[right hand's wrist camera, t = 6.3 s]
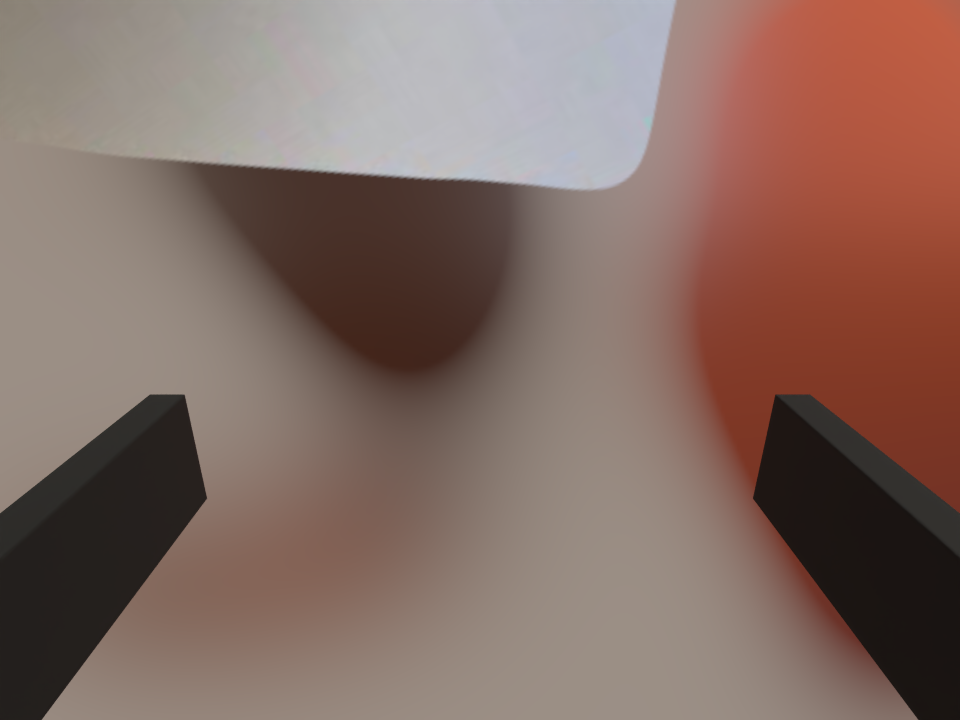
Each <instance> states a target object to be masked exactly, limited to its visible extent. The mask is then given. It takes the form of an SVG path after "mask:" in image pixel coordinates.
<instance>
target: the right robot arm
mask: <svg viewBox="0 0 960 720" xmlns="http://www.w3.org/2000/svg"><path fill="white" fill-rule="evenodd" d="M206 499H207V496H206V492H205V487H204V482H203V478H202V473H201V469H200V464H199V460H198V455H197V450H196V445H195V441H194V436H193V431H192V427H191V422H190V418H189V413H188V408H187V404H186V399H185V395H149V396H148V397H146V398H145V399H144V400H143V401H141V402H140V403H139V404H138V405H136V406H135V407H134V408H133V409H131V410H130V411H129V412H128V413H126V414H125V415H124V416H123V417H121V418H120V419H119V420H117V421H116V422H115V423H114V424H112V425H111V426H110V427H109V428H107V429H106V430H105V431H104V432H102V433H101V434H100V435H99V436H97V437H96V438H95V439H93V440H92V441H91V442H90V443H88V444H87V445H86V446H85V447H83V448H82V449H81V450H80V451H78V452H77V453H76V454H75V455H73V456H72V457H71V458H70V459H68V460H67V461H66V462H64V463H63V464H62V465H61V466H59V467H58V468H57V469H56V470H54V471H53V472H52V473H51V474H49V475H48V476H47V477H46V478H44V479H43V480H42V481H41V482H39V483H38V484H37V485H35V486H34V487H33V488H32V489H31V490H29V491H28V492H27V493H25V494H24V495H23V496H22V497H20V498H19V499H18V500H17V501H15V502H14V503H13V504H12V505H10V506H9V507H8V508H6V509H5V510H4V511H3V512H1V513H0V720H42V719H43V717H44V716H45V714H46V713H47V712H48V711H49V709H50V708H51V706H52V705H53V704H54V702H55V701H56V700H57V698H58V697H59V696H60V694H61V693H62V692H63V690H64V689H65V688H66V686H67V685H68V684H69V682H70V681H71V680H72V678H73V677H74V676H75V674H76V673H77V672H78V670H79V669H80V668H81V666H82V665H83V664H84V662H85V661H86V660H87V658H88V657H89V656H90V654H91V653H92V652H93V650H94V649H95V648H96V646H97V645H98V644H99V642H100V641H101V640H102V638H103V637H104V636H105V634H106V633H107V632H108V630H109V629H110V628H111V626H112V625H113V623H114V622H115V621H116V619H117V618H118V617H119V615H120V614H121V613H122V611H123V610H124V609H125V607H126V606H127V605H128V603H129V602H130V601H131V599H132V598H133V597H134V595H135V594H136V593H137V591H138V590H139V589H140V587H141V586H142V585H143V583H144V582H145V581H146V579H147V578H148V577H149V575H150V574H151V573H152V571H153V570H154V568H155V567H156V566H157V565H158V563H159V562H160V561H161V559H162V558H163V556H164V555H165V554H166V553H167V551H168V550H169V549H170V547H171V546H172V545H173V543H174V542H175V541H176V539H177V538H178V536H179V535H180V534H181V532H182V531H183V530H184V528H185V527H186V526H187V524H188V523H189V522H190V520H191V519H192V518H193V516H194V515H195V514H196V512H197V511H198V510H199V508H200V507H201V506H202V504H203V503H204V502H205V500H206ZM753 499H754V500H755V502H756V503H757V504H758V506H759V507H760V508H761V510H762V511H763V512H764V514H765V515H766V516H767V518H768V519H769V520H770V522H771V523H772V524H773V526H774V527H775V528H776V530H777V531H778V532H779V534H780V535H781V536H782V538H783V539H784V540H785V542H786V543H787V545H788V546H789V547H790V549H791V550H792V551H793V553H794V554H795V555H796V557H797V558H798V559H799V561H800V562H801V563H802V565H803V566H804V567H805V569H806V570H807V571H808V573H809V574H810V575H811V577H812V578H813V579H814V581H815V582H816V583H817V585H818V586H819V587H820V589H821V590H822V591H823V593H824V594H825V595H826V597H827V598H828V599H829V601H830V602H831V603H832V605H833V606H834V607H835V609H836V610H837V611H838V613H839V614H840V615H841V617H842V618H843V619H844V621H845V622H846V623H847V625H848V626H849V627H850V629H851V630H852V631H853V633H854V634H855V636H856V637H857V638H858V639H859V641H860V642H861V643H862V645H863V646H864V648H865V649H866V650H867V652H868V653H869V654H870V656H871V657H872V658H873V660H874V661H875V662H876V664H877V665H878V666H879V668H880V669H881V670H882V672H883V673H884V674H885V676H886V677H887V678H888V680H889V681H890V682H891V684H892V685H893V686H894V688H895V689H896V690H897V692H898V693H899V694H900V696H901V697H902V698H903V700H904V701H905V702H906V704H907V705H908V706H909V708H910V709H911V710H912V712H913V713H914V714H915V716H916V717H917V719H918V720H960V513H959V512H957V511H956V510H955V509H953V508H952V507H951V506H950V505H948V504H947V503H946V502H945V501H943V500H942V499H941V498H940V497H938V496H937V495H936V494H935V493H933V492H932V491H931V490H930V489H928V488H927V487H926V486H925V485H923V484H922V483H921V482H919V481H918V480H917V479H916V478H914V477H913V476H912V475H911V474H909V473H908V472H907V471H906V470H904V469H903V468H902V467H901V466H899V465H898V464H897V463H896V462H894V461H893V460H892V459H890V458H889V457H888V456H887V455H885V454H884V453H883V452H882V451H880V450H879V449H878V448H877V447H875V446H874V445H873V444H872V443H870V442H869V441H868V440H867V439H865V438H864V437H863V436H861V435H860V434H859V433H858V432H856V431H855V430H854V429H853V428H851V427H850V426H849V425H848V424H846V423H845V422H844V421H843V420H841V419H840V418H839V417H837V416H836V415H835V414H834V413H832V412H831V411H830V410H829V409H827V408H826V407H825V406H824V405H822V404H821V403H820V402H819V401H817V400H816V399H815V398H814V397H812V396H811V395H775V399H774V404H773V408H772V413H771V418H770V422H769V427H768V431H767V436H766V441H765V445H764V450H763V455H762V459H761V464H760V469H759V473H758V478H757V482H756V487H755V492H754V496H753Z"/></svg>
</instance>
